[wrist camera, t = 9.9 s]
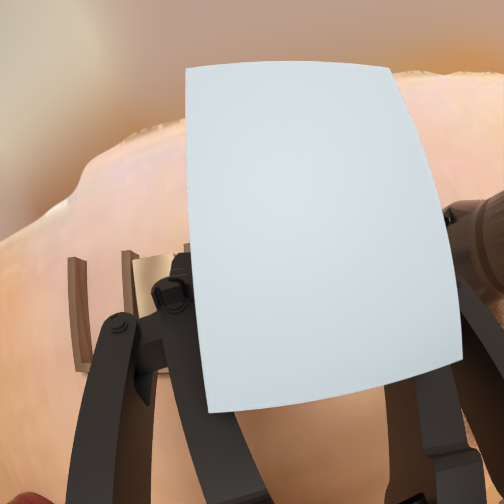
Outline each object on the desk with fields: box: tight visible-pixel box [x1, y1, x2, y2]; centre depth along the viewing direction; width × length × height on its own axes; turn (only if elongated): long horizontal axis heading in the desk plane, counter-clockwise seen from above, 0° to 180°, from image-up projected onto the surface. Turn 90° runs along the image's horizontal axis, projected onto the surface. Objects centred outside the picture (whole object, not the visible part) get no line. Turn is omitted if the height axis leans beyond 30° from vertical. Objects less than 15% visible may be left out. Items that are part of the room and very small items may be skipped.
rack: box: [68, 243, 191, 373], centre depth 31 cm, size 15×13×3 cm
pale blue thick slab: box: [185, 61, 463, 413], centre depth 14 cm, size 5×7×18 cm
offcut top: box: [132, 253, 176, 318], centre depth 31 cm, size 4×9×2 cm, turn 10°
